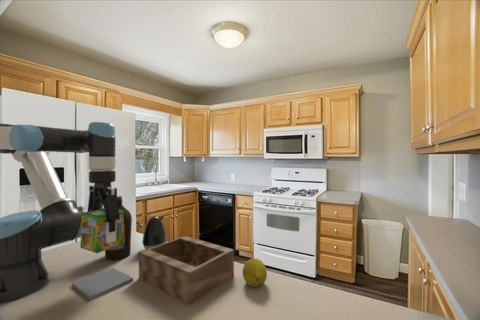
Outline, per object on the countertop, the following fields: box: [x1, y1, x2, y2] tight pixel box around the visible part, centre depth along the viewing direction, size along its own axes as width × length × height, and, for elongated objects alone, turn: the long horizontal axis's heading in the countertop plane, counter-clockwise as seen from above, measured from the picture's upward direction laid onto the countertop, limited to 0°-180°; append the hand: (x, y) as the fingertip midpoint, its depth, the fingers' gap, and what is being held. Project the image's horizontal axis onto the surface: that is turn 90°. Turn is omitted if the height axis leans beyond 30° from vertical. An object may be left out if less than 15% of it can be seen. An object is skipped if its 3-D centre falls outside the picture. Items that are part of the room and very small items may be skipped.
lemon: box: [242, 258, 268, 288], centre depth 76 cm, size 11×8×8 cm
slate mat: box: [71, 267, 134, 301], centre depth 77 cm, size 13×13×1 cm
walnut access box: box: [138, 235, 235, 306], centre depth 81 cm, size 25×20×9 cm
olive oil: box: [104, 195, 133, 261], centre depth 98 cm, size 11×11×25 cm
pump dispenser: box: [142, 215, 168, 250], centre depth 105 cm, size 10×10×15 cm
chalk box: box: [80, 202, 124, 254], centre depth 76 cm, size 9×9×15 cm
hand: (103, 238), depth 76 cm, fingers closed on chalk box, 9 cm apart
